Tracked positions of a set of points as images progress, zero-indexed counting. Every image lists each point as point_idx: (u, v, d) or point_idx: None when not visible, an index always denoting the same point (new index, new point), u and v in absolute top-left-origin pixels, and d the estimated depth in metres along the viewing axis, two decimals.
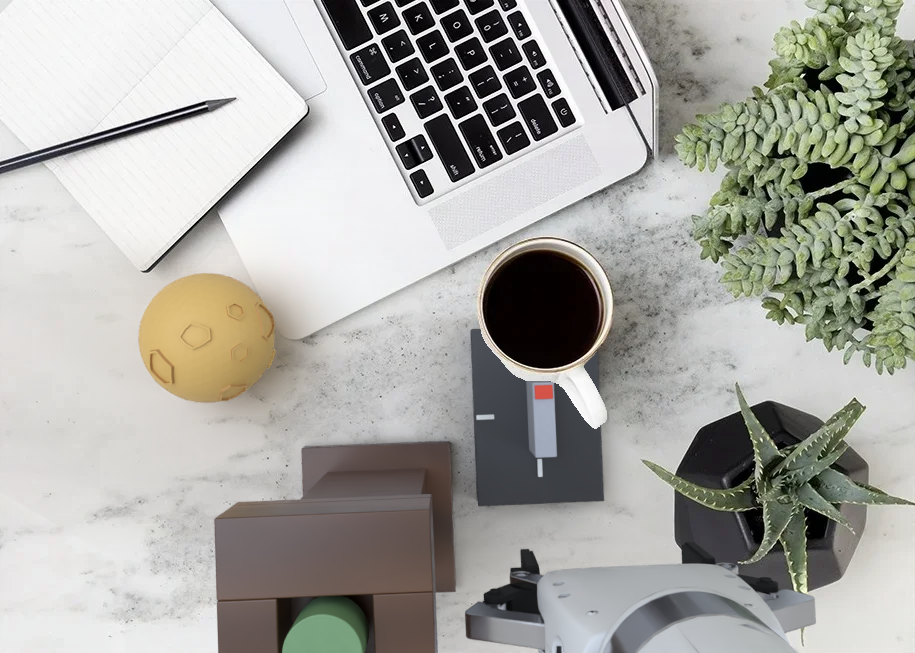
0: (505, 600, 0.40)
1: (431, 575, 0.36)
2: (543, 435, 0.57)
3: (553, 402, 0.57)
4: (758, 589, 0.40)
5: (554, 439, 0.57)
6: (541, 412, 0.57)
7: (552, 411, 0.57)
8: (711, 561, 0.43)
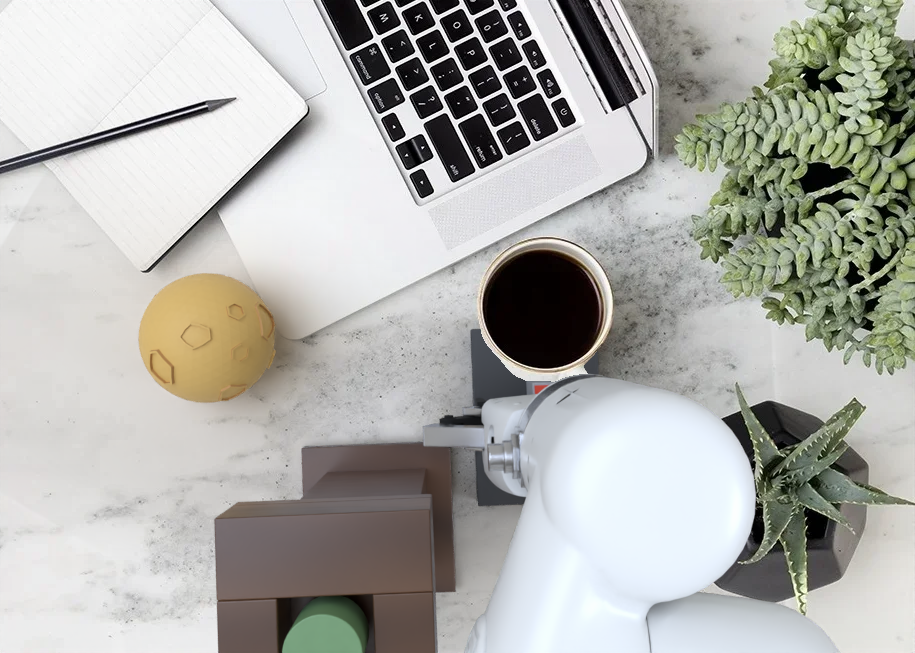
0: (457, 422, 0.49)
1: (431, 575, 0.36)
2: None
3: None
4: None
5: None
6: None
7: None
8: None
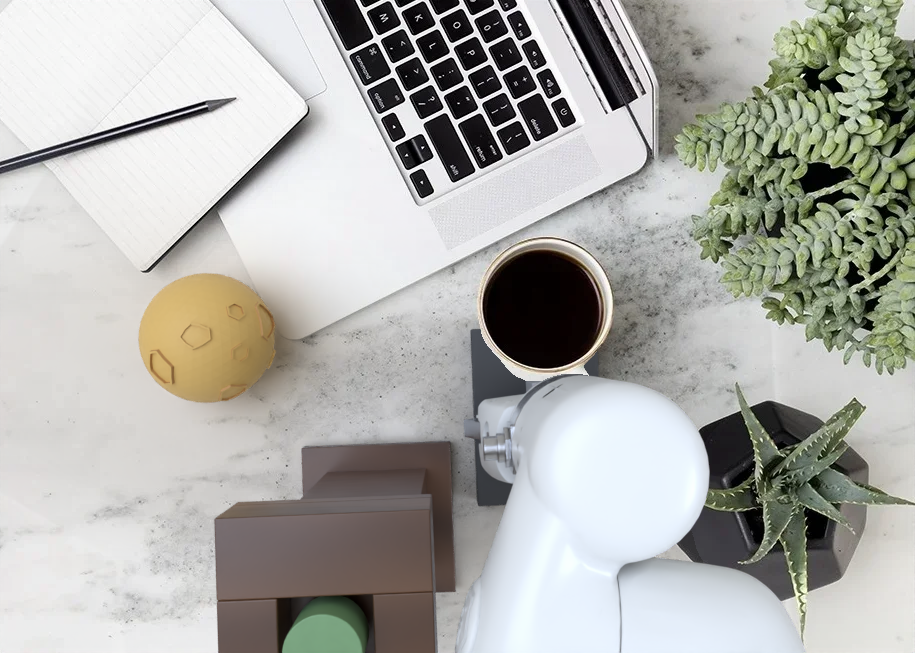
0: None
1: (431, 575, 0.36)
2: None
3: None
4: None
5: None
6: None
7: None
8: None
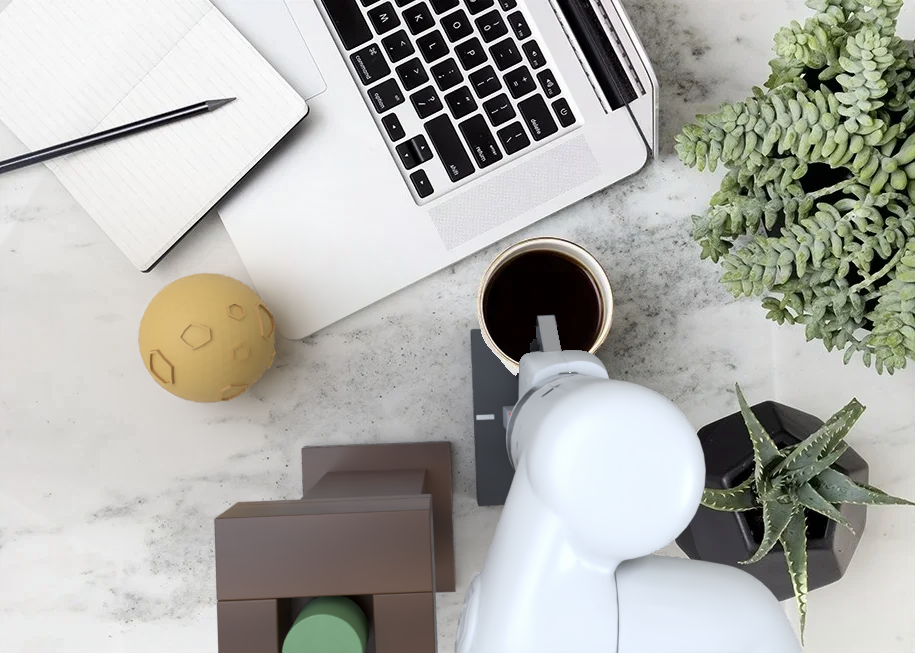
0: None
1: (431, 575, 0.36)
2: None
3: None
4: (537, 352, 0.55)
5: None
6: None
7: None
8: None
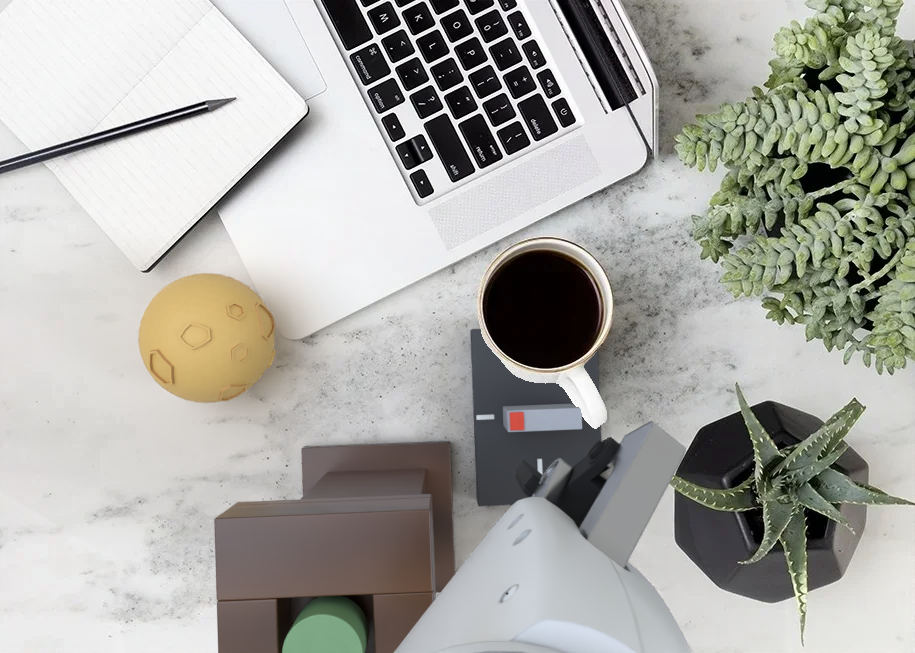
0: None
1: (431, 575, 0.36)
2: (560, 421, 0.57)
3: (527, 410, 0.57)
4: (596, 471, 0.24)
5: (564, 410, 0.57)
6: (536, 422, 0.57)
7: (536, 412, 0.57)
8: (534, 481, 0.26)
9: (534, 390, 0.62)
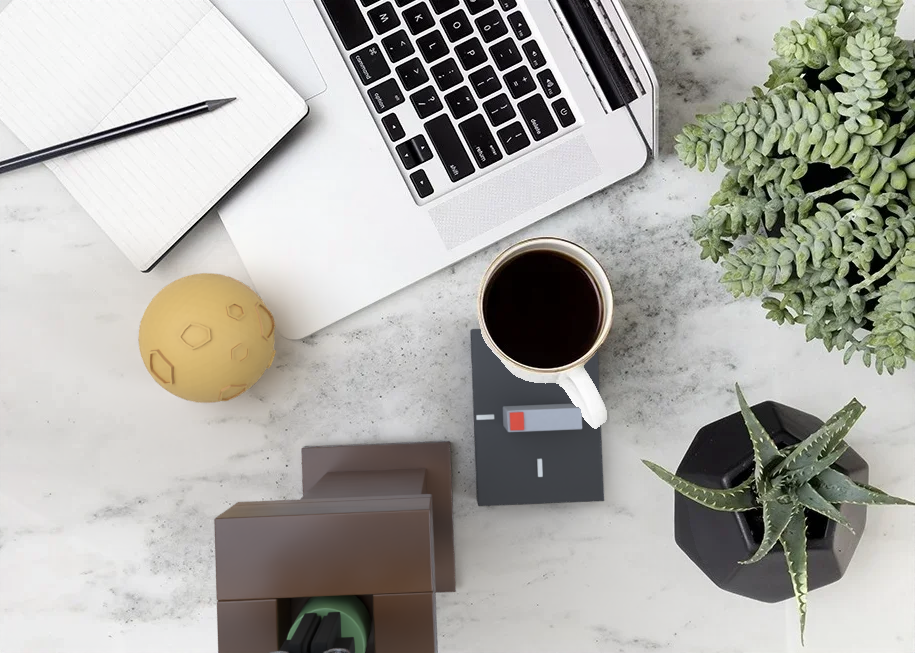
0: None
1: (431, 575, 0.36)
2: (560, 421, 0.57)
3: (527, 410, 0.57)
4: None
5: (564, 410, 0.57)
6: (536, 422, 0.57)
7: (536, 412, 0.57)
8: (323, 647, 0.32)
9: (534, 390, 0.62)
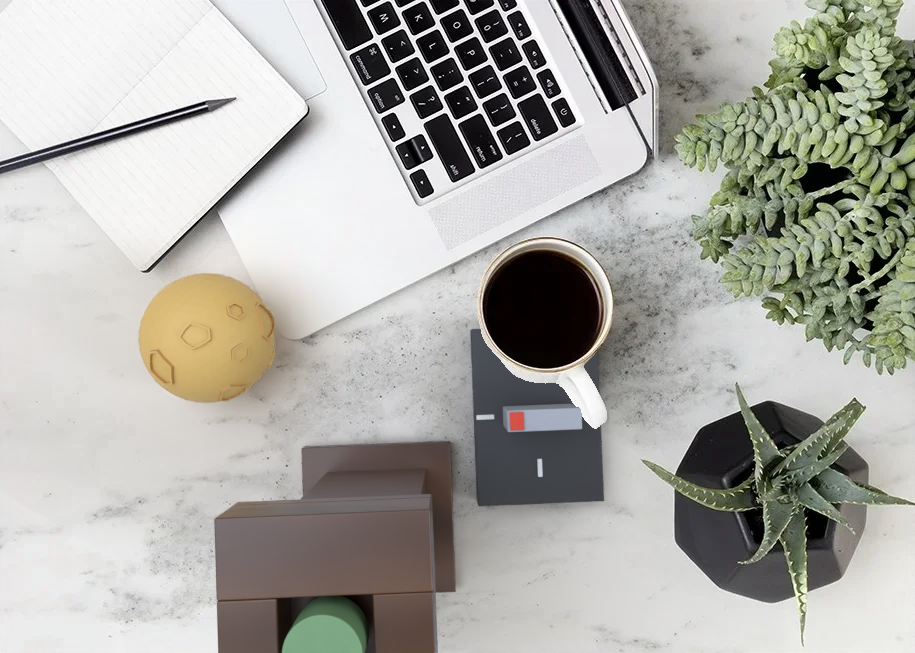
0: None
1: (431, 575, 0.36)
2: (560, 421, 0.57)
3: (527, 410, 0.57)
4: None
5: (564, 410, 0.57)
6: (536, 422, 0.57)
7: (536, 412, 0.57)
8: None
9: (534, 390, 0.62)
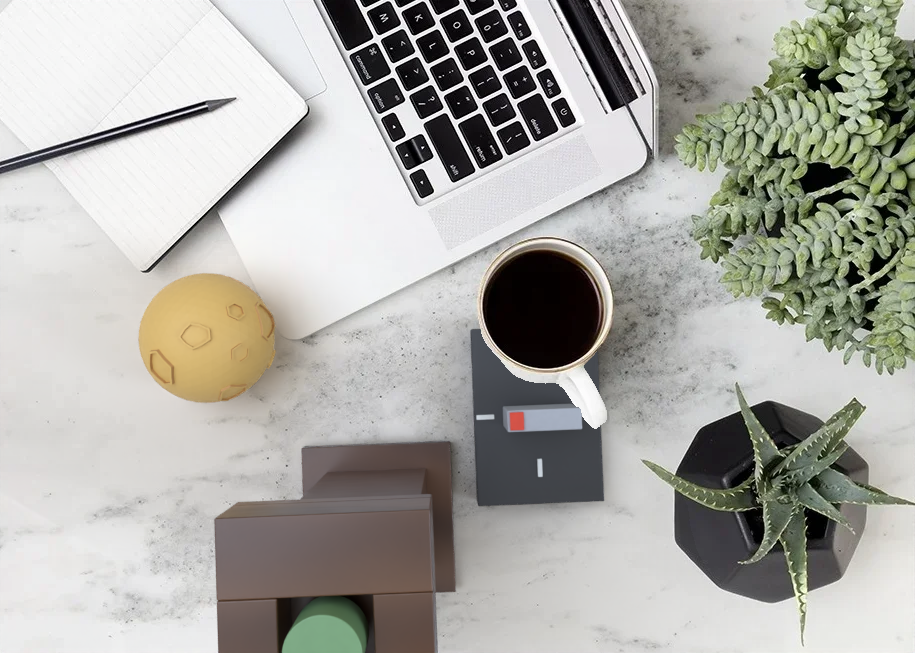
0: None
1: (431, 575, 0.36)
2: (560, 421, 0.57)
3: (527, 410, 0.57)
4: None
5: (564, 410, 0.57)
6: (536, 422, 0.57)
7: (536, 412, 0.57)
8: None
9: (534, 390, 0.62)
